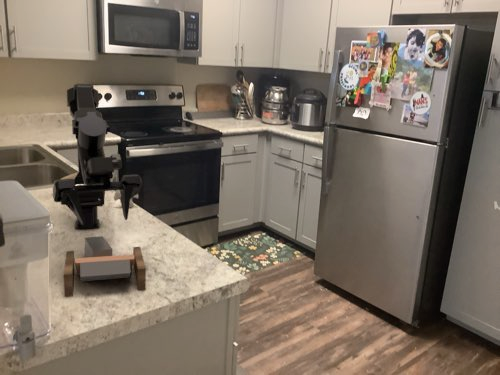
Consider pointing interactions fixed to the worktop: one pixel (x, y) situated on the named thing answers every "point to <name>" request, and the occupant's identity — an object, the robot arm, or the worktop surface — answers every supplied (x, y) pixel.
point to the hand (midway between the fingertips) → (105, 221)
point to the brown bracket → (70, 271)
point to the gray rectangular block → (97, 247)
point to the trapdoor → (104, 267)
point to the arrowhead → (118, 196)
